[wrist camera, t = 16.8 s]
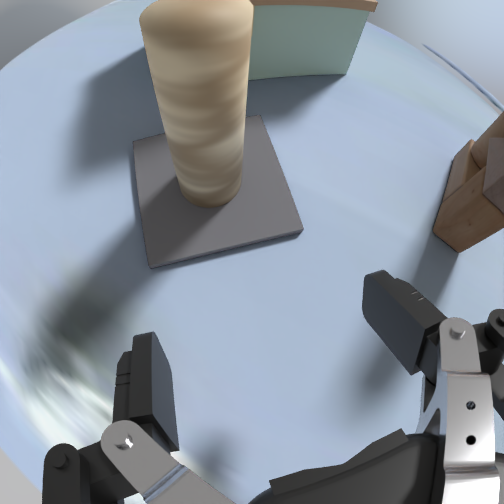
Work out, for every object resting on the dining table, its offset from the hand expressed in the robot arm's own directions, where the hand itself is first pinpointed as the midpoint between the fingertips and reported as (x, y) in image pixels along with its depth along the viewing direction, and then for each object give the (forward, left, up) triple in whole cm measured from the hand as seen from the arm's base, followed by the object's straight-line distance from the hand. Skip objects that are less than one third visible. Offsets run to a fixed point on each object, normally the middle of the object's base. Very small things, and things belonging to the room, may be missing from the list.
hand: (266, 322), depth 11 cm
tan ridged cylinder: (0, +11, -9) cm, 14 cm away
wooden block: (+22, +6, -10) cm, 25 cm away
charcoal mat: (0, +12, -9) cm, 15 cm away
